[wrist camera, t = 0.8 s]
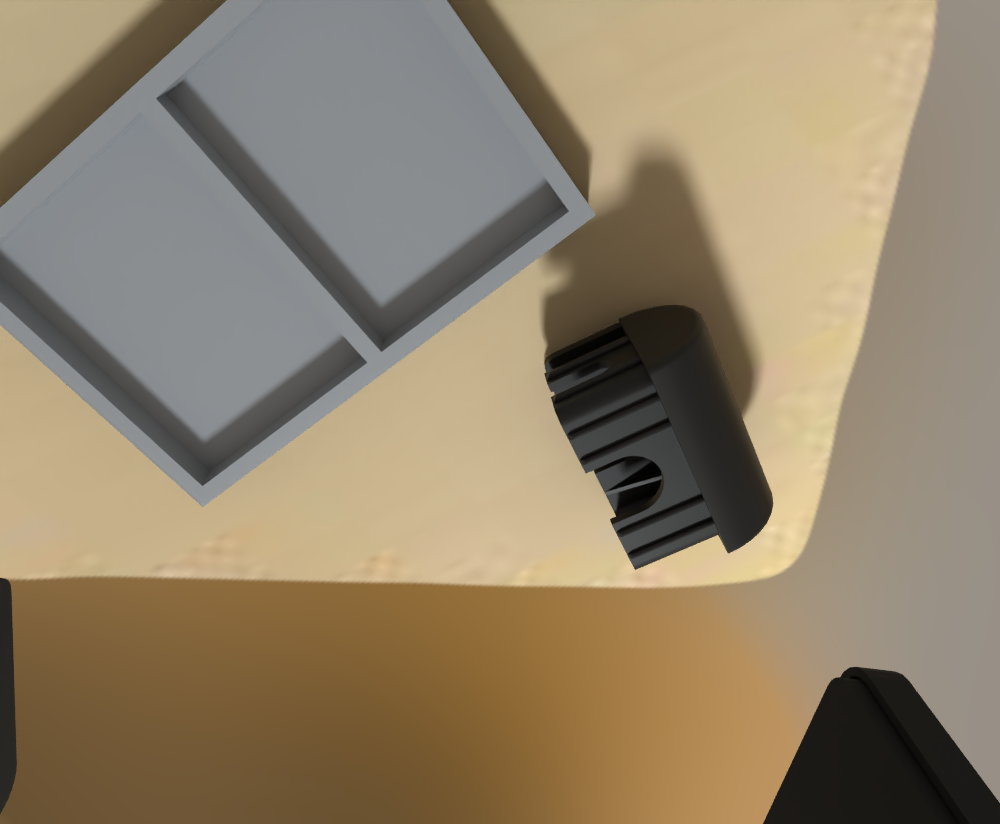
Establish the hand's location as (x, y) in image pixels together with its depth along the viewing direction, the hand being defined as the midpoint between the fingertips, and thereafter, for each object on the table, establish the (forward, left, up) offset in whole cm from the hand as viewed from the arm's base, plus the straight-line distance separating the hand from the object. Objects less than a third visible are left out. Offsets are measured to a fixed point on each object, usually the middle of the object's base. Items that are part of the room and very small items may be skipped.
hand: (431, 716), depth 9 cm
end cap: (-2, +14, -29) cm, 32 cm away
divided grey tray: (+6, -3, -29) cm, 30 cm away
